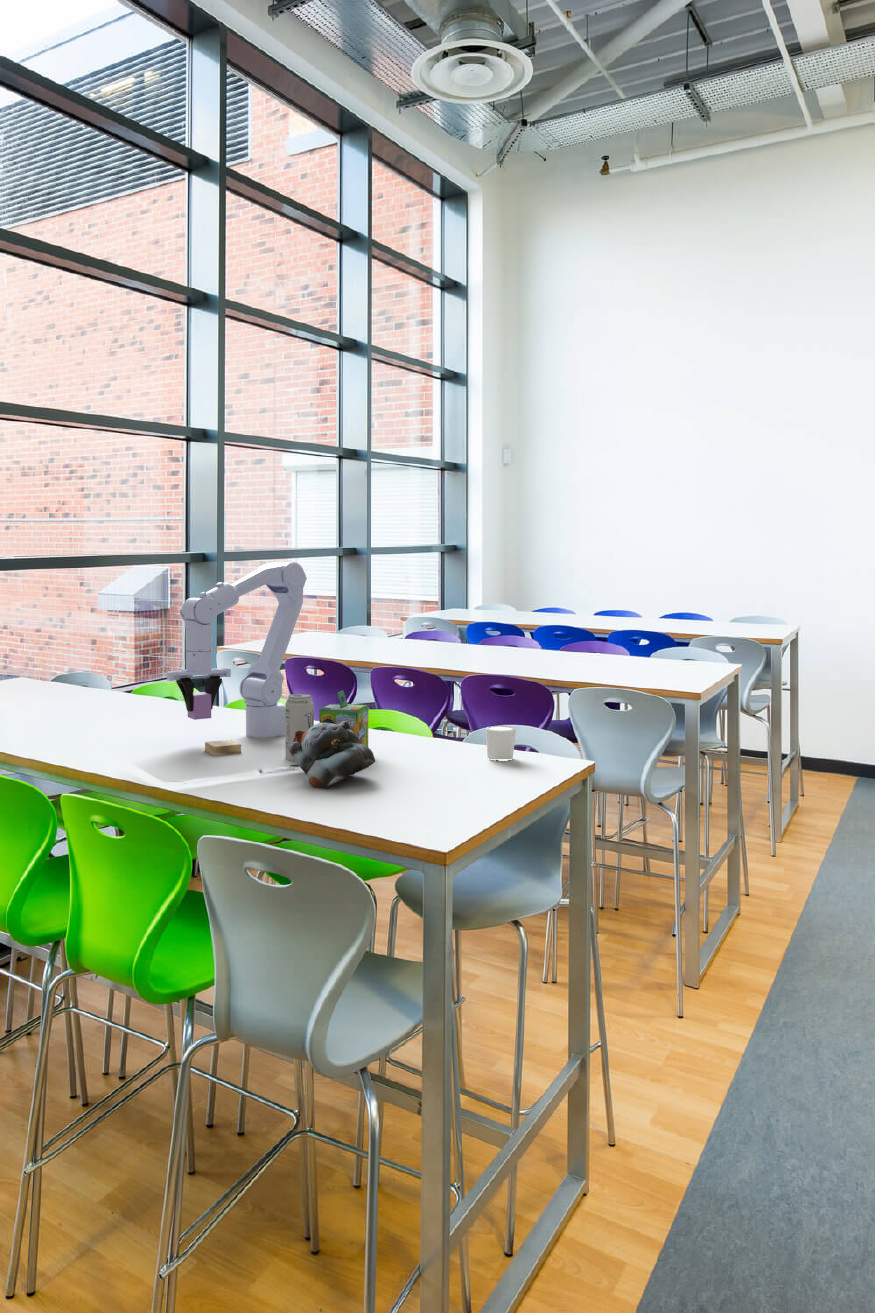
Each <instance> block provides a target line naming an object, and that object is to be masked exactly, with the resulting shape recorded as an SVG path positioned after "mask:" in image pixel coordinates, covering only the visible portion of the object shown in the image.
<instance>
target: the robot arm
mask: <svg viewBox="0 0 875 1313" xmlns="http://www.w3.org/2000/svg"><path fill="white" fill-rule="evenodd" d="M307 580H308V579H307V575H306V572H305V571H304V568H303V567H302V565H301V564H300V563H298V562H296V561H295V562H294V561H293V562H292V561H291V562H276V561H269V562H267V563H266V564H262V565H260V566H258V567H257V569H255V570H253V571H252V572H249V573H248V574H247V575H245V576H244V577H242V578H240V579H238V580H237V581H235V582H234V583H232V584H231V583H229V582H221V581H219V582H217V583H215V587H213V588H211V589H210V590H208V591H202V592H200V593H199V596H197V597H190V598H189V597H188V599H186V600H185V601H184V603H183V604H182V606H181V609H179V613H180V614H179V615H180V618H181V619H182V620H183V622H184V628H185V669H180V670H171V671H166V680H167V681H169V682H173V681H175V682H176V685H177V686H178V688H179V690H180V692H181V695H182V697H183V700H184V704H185V708H186V711H187V712H188V711H190V712H191V711H193V693H195V692H194V689H195V686H196V685H195V684H196V683H195V682H194V681H193V680H196V679H203V682H204V690H205V691H204V692H205V693H209V694H211V711H212V710H213V708H214V703H215V700H216V695H217V694H218V691H219V689H220V687H221V685H222V684H223V679H222V678H224V677H225V678H231V677H232V672H231V670H232V669H231V668H230V667H219V668H218V667H213V642H212V641H213V640H212V639H213V637H212V635H213V632H212V628H213V627H212V626H213V625H212V623H214V622H215V620H216V618H217V616H218V615H219V614H221V613H222V614H223V612H225V611H227V610H229V609H231V608H232V607H234V606H236V605H237V604H238V603H239V600H240V597H242V596H244V595H246V594H248V593H250V592H253V591H255V590H256V589H258V588H261V587H263V586H266V587H267V588H268V589H269V591H270V592H271V593H272V594H273V596H274V597H275V598H276V599H277V600H276V601H277V602H278V605H277V607H276V611H275V614H274V616H273V619H272V622H271V625H270V628H269V631H268V633H267V636H266V639H265V642H264V644H263V647H262V650H261V653H260V656H259V658H258V661H257V662H256V663H255V664H254V665H252V666H251V667H250V668H249V669H248V672H247V673H246V675H245V676H244V677H243V678H242V679H241V681H240V684H239V693H240V696H241V698H242V699H244V704H245V736H246V737H247V738H254V739H266V738H273V737H279V736H284V737H285V705H284V704H283V703H281V702H279V701H280V699H281V698H282V695H283V683H284V680H285V677H284V675H283V674H282V672H281V670H280V669H281V667H282V664H283V661H284V659H285V655H286V653H287V652H286V651H287V649H288V647H289V643H290V641H291V639H292V635H293V633H294V630H295V627H296V624H297V621H298V617H299V615H300V612H301V610H302V606H303V604H304V603H303V602H304V588H305V584H306V582H307Z"/></svg>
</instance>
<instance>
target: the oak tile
mask: <svg viewBox="0 0 875 1313" xmlns="http://www.w3.org/2000/svg"><path fill="white" fill-rule="evenodd" d="M204 751H205V752H206V753H209V754H211V755H213V756H216V757H218V756H224V755H232V754H234V755H235V754H241V753H242V743H239V742H237V741H235V740H233V739H223V740H215V741H214V740H213V741H212V740H211V741H205V742H204Z"/></svg>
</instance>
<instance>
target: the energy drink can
mask: <svg viewBox="0 0 875 1313" xmlns="http://www.w3.org/2000/svg"><path fill="white" fill-rule="evenodd" d="M284 706H285V736H284V738H285V741H284V743H285V744H284V745H285V754H284V755H285V760H287V761H291V762H296V761H295V760H294V759H293V757H292V755H291V754H290V752H289V750H288V746H289V745H290V744H291V743H292V742H293V740H294V737H295V732H296V731H307V730H308V729H309V728H310V727H312V726H314V725H315V723H314V722H315V719H314V718H315V717H314V716H315V703H314V701H313V698H312V695H311V694H307V693H293V694H292V693H291V694H288V698H287V700H286V701H285V705H284ZM289 767H295V768H300V766H299V765H298V764H297V763H296V764H291V765H289Z"/></svg>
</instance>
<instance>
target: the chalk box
mask: <svg viewBox="0 0 875 1313" xmlns="http://www.w3.org/2000/svg"><path fill="white" fill-rule="evenodd" d="M342 699H343V701H342ZM337 700H338V703H330V704H327V705H325V706H323V707H320V708H319V723H322V722H323V721H324V720H325V719H326V718H329V719H331V720H333V722H335V723H336V724H338V725H339V724H340V723H341V722H343V721H347V722H348V723H349V725H350V728H351V730H352V731H353V732H354V733H355V734H356V736H357V737H358V740H359V744H363V745H365V746H367V747H368V748H369V705H368V704H353V703H348V702H347V698H346V694H345V691H344V690H341V691H339V692H337Z"/></svg>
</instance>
